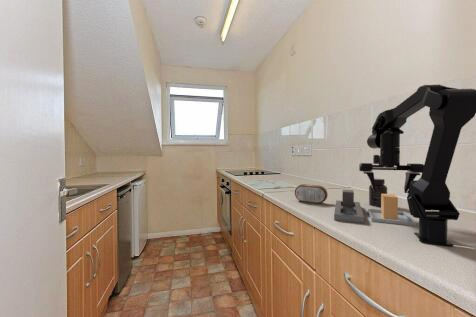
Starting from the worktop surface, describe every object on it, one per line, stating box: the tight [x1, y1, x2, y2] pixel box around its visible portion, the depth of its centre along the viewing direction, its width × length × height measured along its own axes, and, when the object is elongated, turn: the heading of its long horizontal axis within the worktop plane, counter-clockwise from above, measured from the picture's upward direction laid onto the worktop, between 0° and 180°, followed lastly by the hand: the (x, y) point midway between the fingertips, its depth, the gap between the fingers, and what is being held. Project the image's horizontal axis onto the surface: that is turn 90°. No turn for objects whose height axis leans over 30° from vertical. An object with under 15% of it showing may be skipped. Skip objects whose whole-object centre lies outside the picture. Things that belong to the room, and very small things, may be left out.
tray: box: [367, 207, 417, 227], centre depth 78 cm, size 14×12×2 cm
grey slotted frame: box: [333, 199, 365, 224], centre depth 85 cm, size 24×9×2 cm, turn 154°
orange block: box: [380, 193, 399, 220], centre depth 78 cm, size 6×4×8 cm, turn 154°
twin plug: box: [342, 189, 355, 207], centre depth 90 cm, size 6×4×8 cm, turn 154°
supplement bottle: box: [368, 178, 388, 208], centre depth 96 cm, size 7×7×12 cm
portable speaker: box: [294, 183, 328, 205], centre depth 105 cm, size 15×3×8 cm, turn 58°
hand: (389, 191), depth 78 cm, fingers open, 9 cm apart
